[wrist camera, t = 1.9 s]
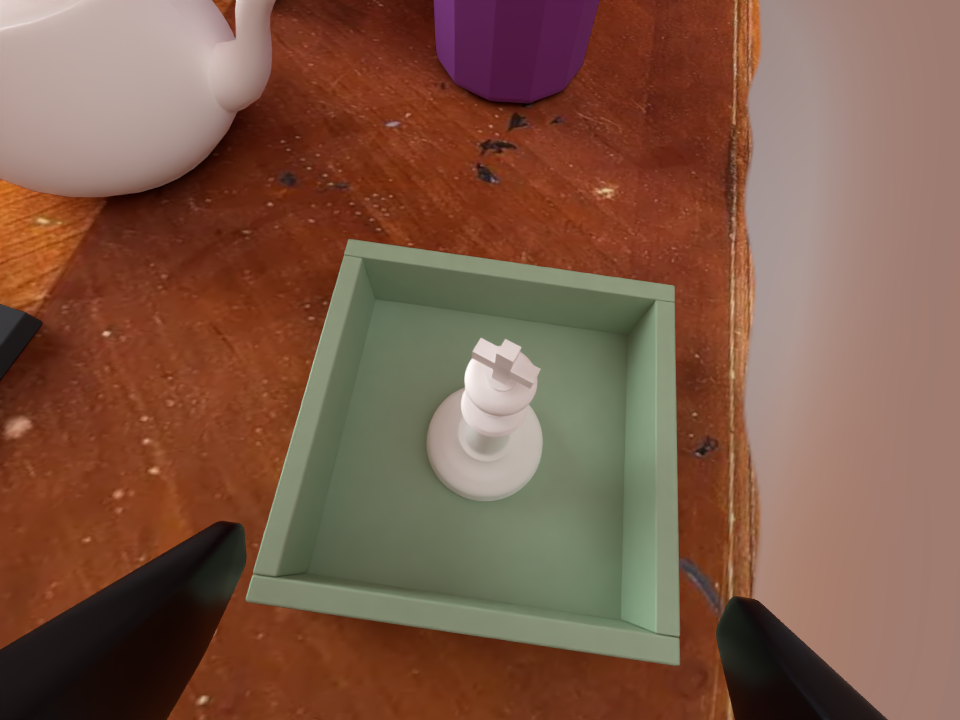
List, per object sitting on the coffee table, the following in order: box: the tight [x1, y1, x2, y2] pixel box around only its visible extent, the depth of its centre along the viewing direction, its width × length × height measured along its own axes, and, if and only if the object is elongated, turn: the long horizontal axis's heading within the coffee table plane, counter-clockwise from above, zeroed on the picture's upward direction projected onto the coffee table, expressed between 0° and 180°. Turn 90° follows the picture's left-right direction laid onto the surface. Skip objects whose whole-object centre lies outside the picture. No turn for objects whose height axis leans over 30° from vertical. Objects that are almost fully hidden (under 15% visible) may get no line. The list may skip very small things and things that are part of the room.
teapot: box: [0, 0, 276, 197], centre depth 22 cm, size 22×14×11 cm, turn 86°
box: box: [246, 239, 680, 666], centre depth 19 cm, size 14×14×4 cm
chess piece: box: [426, 338, 543, 501], centre depth 16 cm, size 5×5×10 cm
